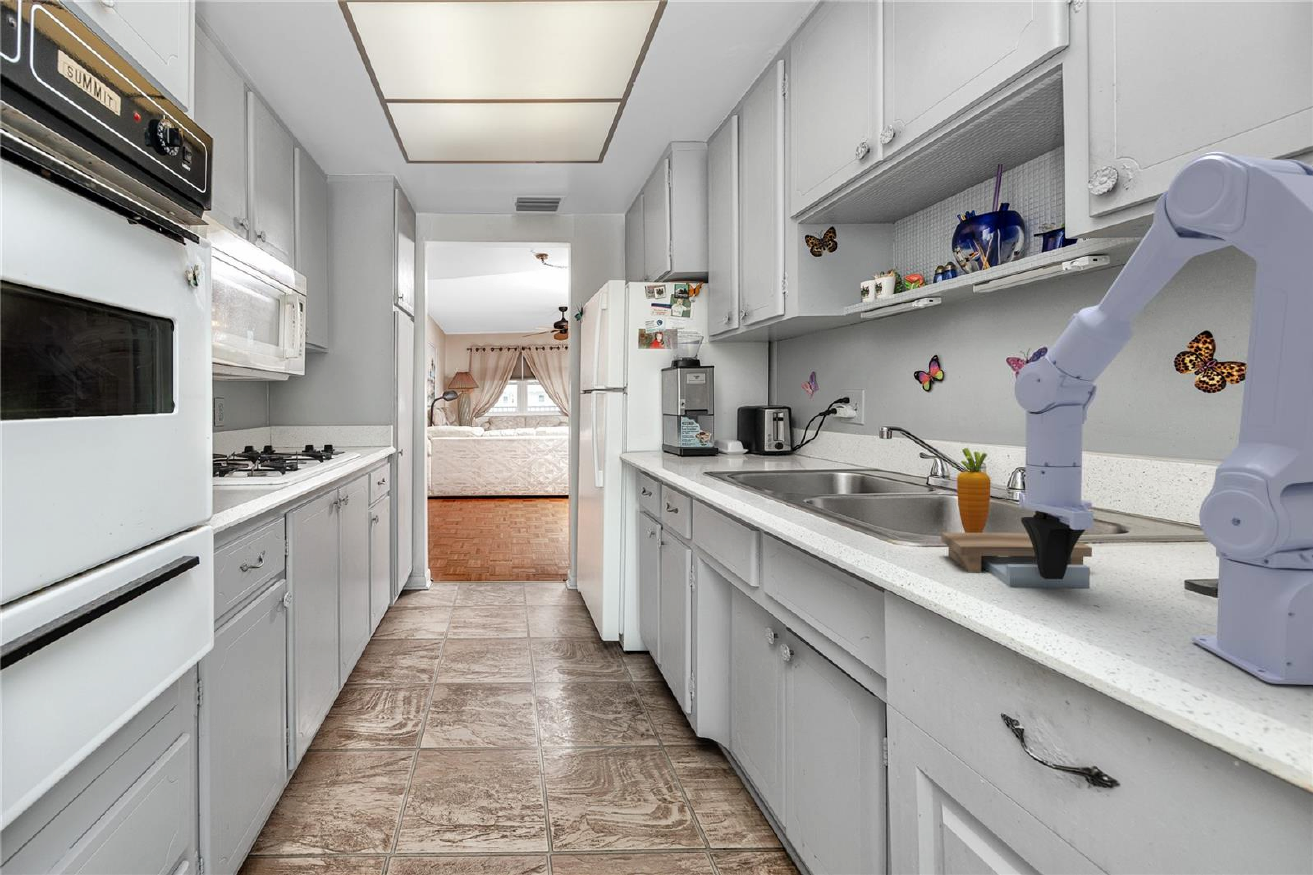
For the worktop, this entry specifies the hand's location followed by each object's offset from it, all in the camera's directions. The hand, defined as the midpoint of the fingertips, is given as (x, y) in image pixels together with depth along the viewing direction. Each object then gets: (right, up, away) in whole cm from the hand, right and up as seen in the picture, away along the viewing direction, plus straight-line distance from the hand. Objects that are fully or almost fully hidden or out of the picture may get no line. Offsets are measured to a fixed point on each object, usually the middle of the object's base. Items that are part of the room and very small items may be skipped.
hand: (1051, 577), depth 79 cm
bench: (+2, -1, +12) cm, 12 cm away
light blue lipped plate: (+1, -1, +6) cm, 7 cm away
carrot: (+2, 0, +24) cm, 25 cm away
